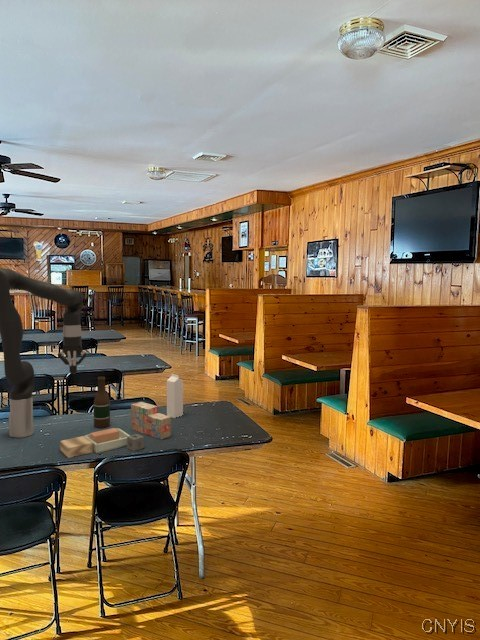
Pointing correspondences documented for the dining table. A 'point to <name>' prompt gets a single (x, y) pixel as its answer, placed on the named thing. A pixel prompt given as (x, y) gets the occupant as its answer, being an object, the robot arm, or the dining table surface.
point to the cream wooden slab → (76, 446)
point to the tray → (110, 442)
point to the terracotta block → (105, 435)
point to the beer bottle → (101, 406)
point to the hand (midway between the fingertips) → (73, 373)
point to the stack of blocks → (150, 420)
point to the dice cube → (135, 442)
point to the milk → (174, 396)
